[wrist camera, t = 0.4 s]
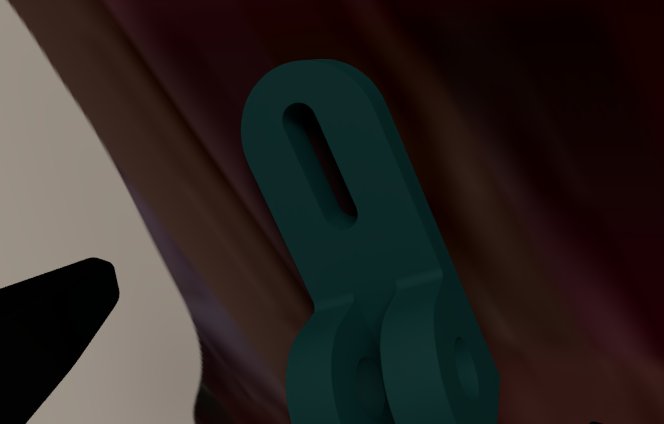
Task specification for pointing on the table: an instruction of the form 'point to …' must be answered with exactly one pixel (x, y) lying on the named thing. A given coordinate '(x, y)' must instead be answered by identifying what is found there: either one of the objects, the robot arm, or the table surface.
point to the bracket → (364, 261)
